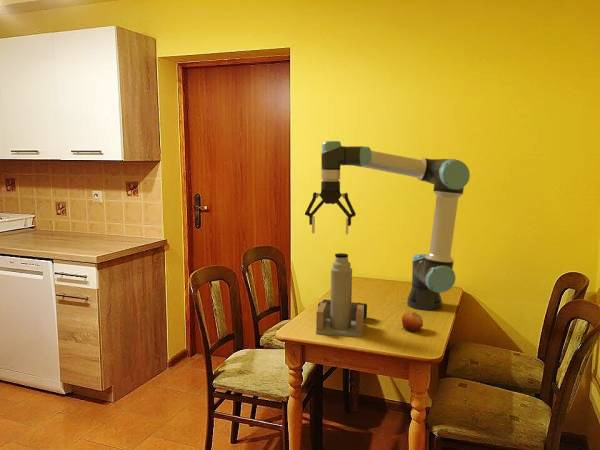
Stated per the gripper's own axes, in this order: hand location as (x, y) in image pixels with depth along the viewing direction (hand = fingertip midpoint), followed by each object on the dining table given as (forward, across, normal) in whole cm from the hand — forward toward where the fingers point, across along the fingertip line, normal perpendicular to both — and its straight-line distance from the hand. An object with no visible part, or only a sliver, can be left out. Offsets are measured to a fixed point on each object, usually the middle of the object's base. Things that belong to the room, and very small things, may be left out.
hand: (330, 233), depth 207 cm
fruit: (+35, -33, +10) cm, 49 cm away
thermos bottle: (+34, -6, +14) cm, 37 cm away
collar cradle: (+35, -6, +14) cm, 38 cm away
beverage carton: (+35, -6, -1) cm, 36 cm away
